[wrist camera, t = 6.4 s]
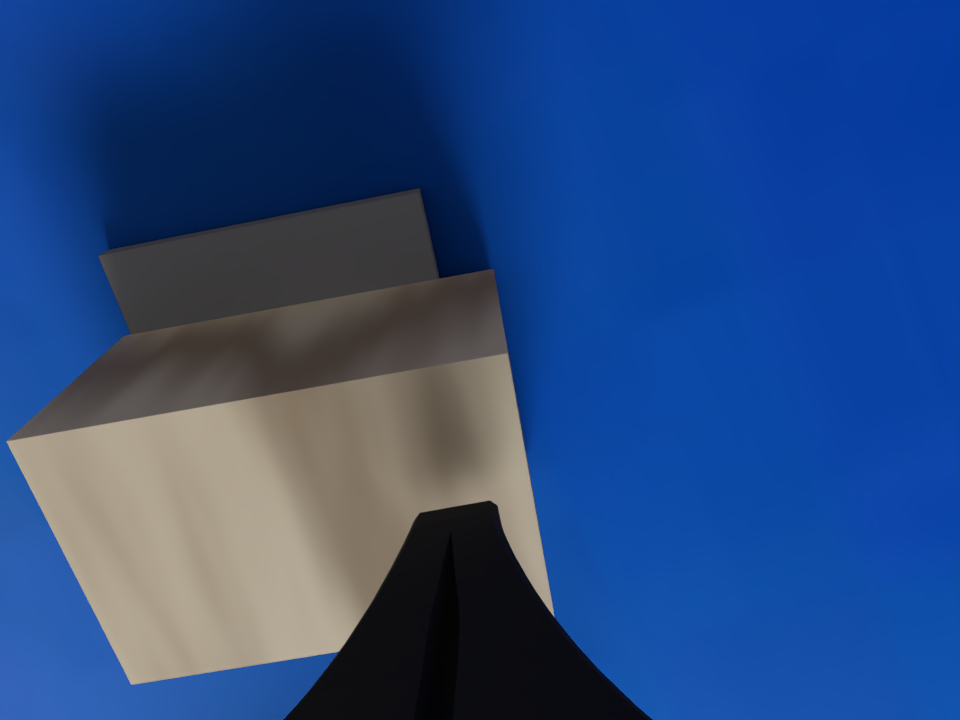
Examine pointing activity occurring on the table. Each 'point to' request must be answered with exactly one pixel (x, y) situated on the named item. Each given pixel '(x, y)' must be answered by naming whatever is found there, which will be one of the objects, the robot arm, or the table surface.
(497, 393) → the maple block
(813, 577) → the table surface
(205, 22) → the table surface
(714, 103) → the table surface
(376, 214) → the mat
